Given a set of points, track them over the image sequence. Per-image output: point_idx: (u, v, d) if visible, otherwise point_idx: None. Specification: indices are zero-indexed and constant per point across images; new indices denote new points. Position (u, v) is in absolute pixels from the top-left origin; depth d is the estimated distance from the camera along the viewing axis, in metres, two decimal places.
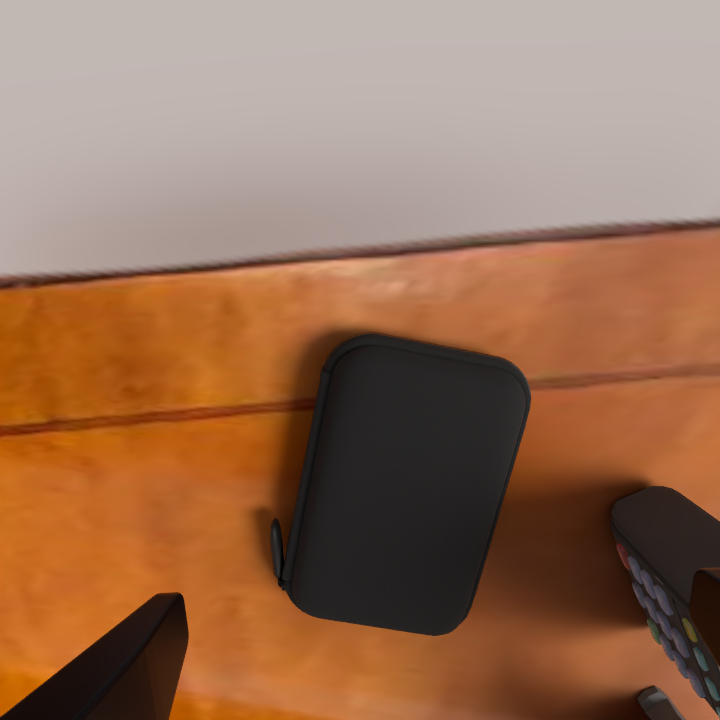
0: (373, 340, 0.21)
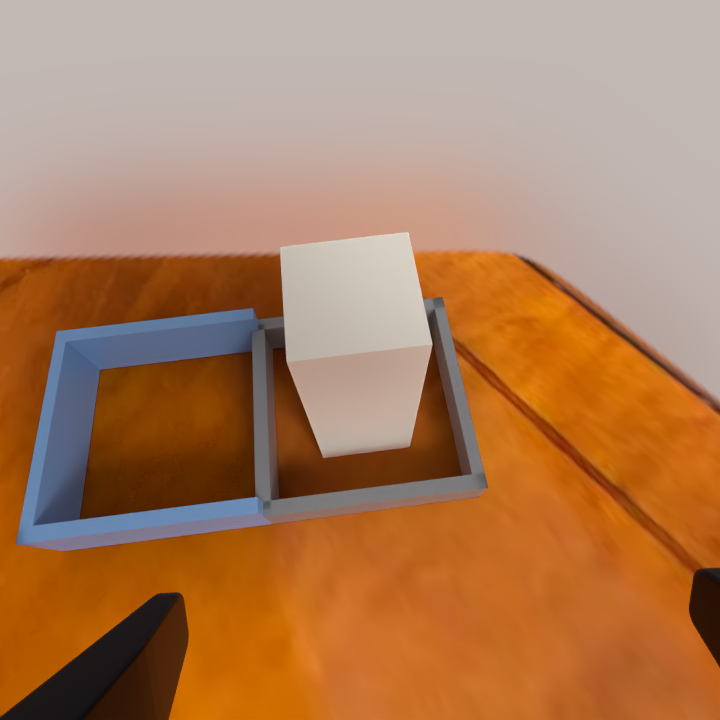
0: None
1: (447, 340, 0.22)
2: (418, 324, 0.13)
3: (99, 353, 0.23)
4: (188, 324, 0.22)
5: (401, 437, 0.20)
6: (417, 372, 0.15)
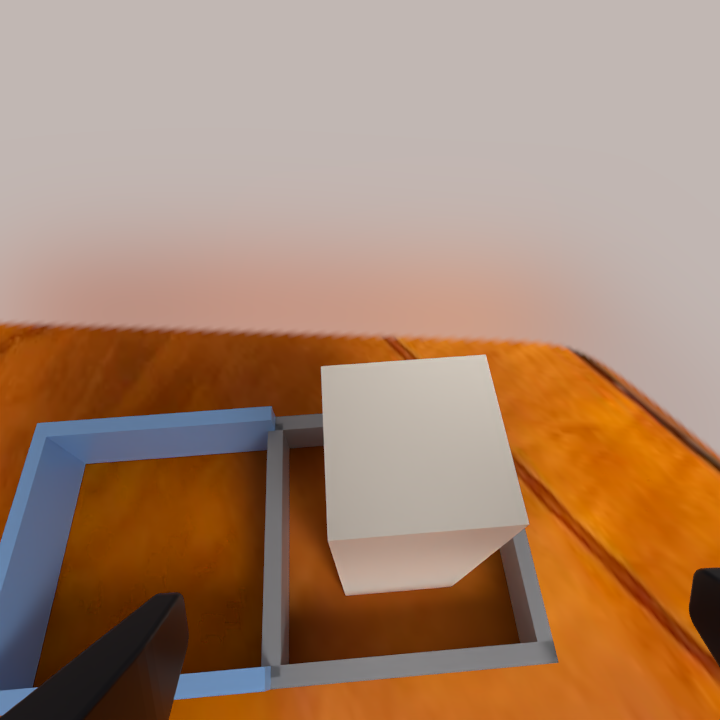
0: None
1: None
2: (507, 491, 0.10)
3: (85, 448, 0.19)
4: (193, 423, 0.18)
5: (445, 581, 0.16)
6: (495, 543, 0.11)
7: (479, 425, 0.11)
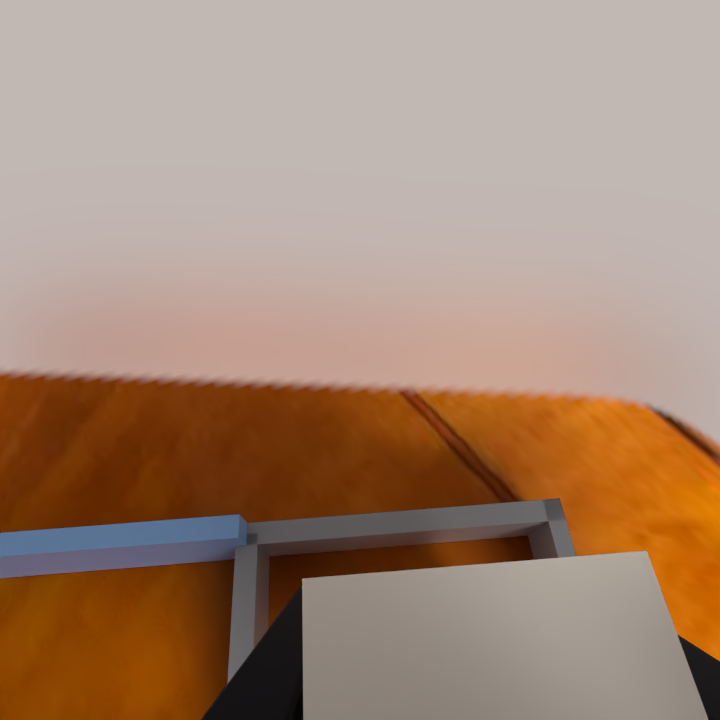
0: None
1: None
2: None
3: None
4: (122, 542, 0.12)
5: None
6: None
7: None
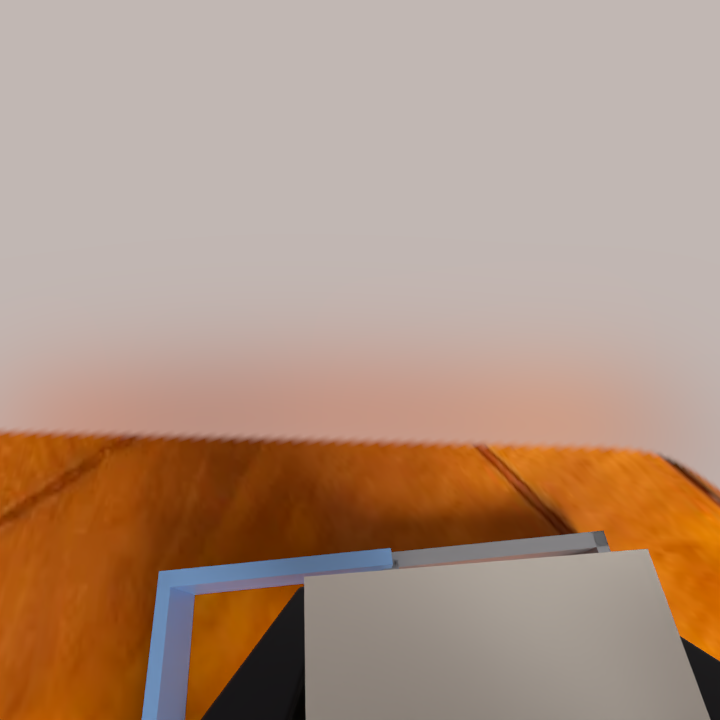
0: None
1: None
2: None
3: (202, 588, 0.19)
4: (315, 569, 0.18)
5: None
6: None
7: None
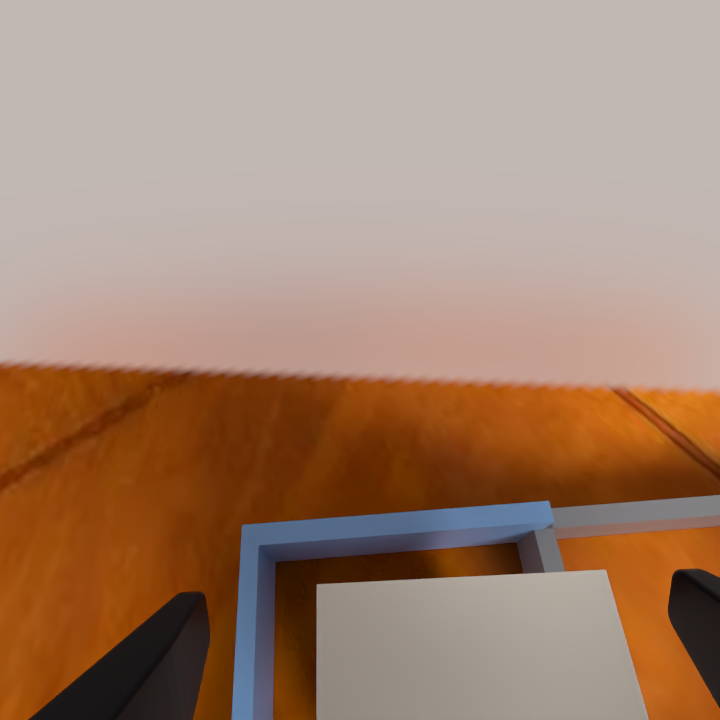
0: None
1: None
2: None
3: (293, 551, 0.15)
4: (451, 526, 0.14)
5: None
6: None
7: None
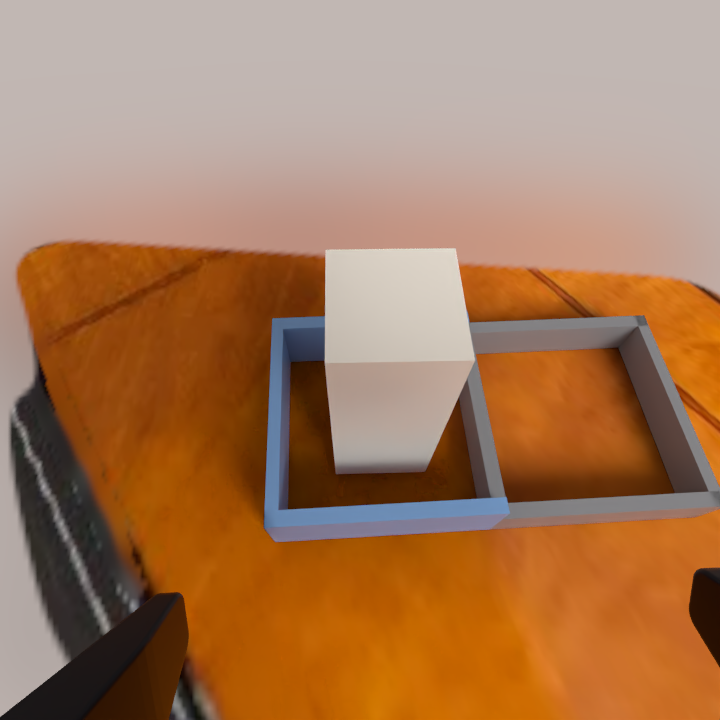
0: None
1: (656, 357, 0.22)
2: (461, 339, 0.13)
3: (303, 344, 0.23)
4: None
5: (419, 460, 0.20)
6: (452, 389, 0.14)
7: (445, 295, 0.14)
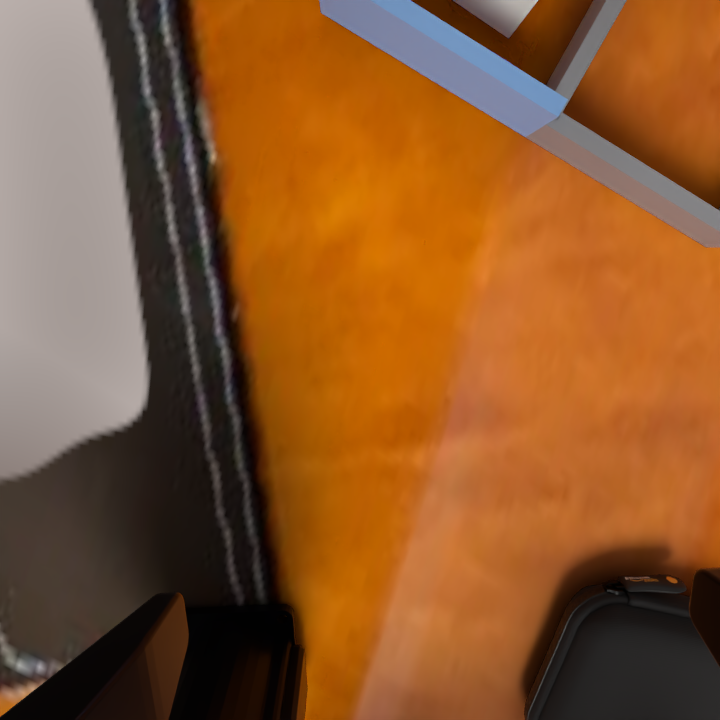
0: None
1: None
2: None
3: None
4: None
5: (513, 10, 0.16)
6: None
7: None
